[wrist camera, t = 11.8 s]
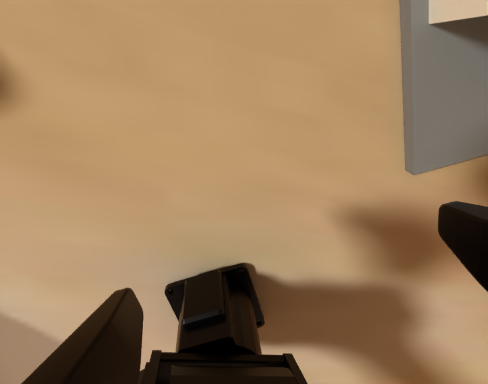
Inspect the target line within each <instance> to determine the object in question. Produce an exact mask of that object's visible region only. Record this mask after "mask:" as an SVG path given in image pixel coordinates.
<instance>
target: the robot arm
mask: <svg viewBox="0 0 488 384" xmlns="http://www.w3.org/2000/svg"><path fill="white" fill-rule="evenodd" d="M438 232H439V235H440V237H441V238H442V240H443V241H444V242H445V243H446V244H447V246H448V247H449V248H450V249H451V250H452V252H453V253H454V254H455V255H456V257H457V258H458V259H459V260H460V261H461V263H462V264H463V265H464V266H465V267H466V269H467V270H468V271H469V272H470V273H471V275H472V276H473V277H474V278H475V279H476V280H477V281H478V282H479V284H480V285H481V286H482V287H483V288H484V289H485V290H486V291H487V292H488V207H485V206H480V205H474V204H469V203H463V202H458V201H454V202H450V203H446V204H443V205H441V206H440V208H439V214H438ZM239 270H244V271H242V272H240V271H239ZM170 290H174V291H170ZM165 295H166V297H167V299H168V301H169V303H170V305H171V307H172V309H173V311H174V313H175V315H176V317H177V319H178V321H179V326H178V334H177V343H176V352H175V353H173V352H162V350H152V354H151V358H150V362H146V366H145V369H143V370H142V371H140V363H141V348H142V331H143V310H142V307H141V305H140V303H139V301H138V299H137V298H136V296H135V294H134V292H133V290H132V289H131V288H125V289H121V290H117V291H115V292H114V293H113V294H112V295H111V296H110V297H109V298H108V299H107V300H106V301H105V302H104V303H103V304H102V305H101V306H100V307H99V308H98V309H97V310H96V311H95V312H93V313H92V314H91V315H90V316H89V317H88V318H87V319H86V320H85V321H84V322H83V323H82V324H81V325H80V326H79V327H78V328H77V329H76V330H75V331H74V332H73V333H72V334H71V335H70V336H69V337H68V338H67V339H66V340H65V341H64V342H63V343H62V344H61V345H60V346H59V347H58V348H57V349H56V350H55V351H54V352H53V353H52V354H51V355H50V356H49V357H48V358H47V359H46V360H45V361H44V362H43V363H42V364H41V365H40V366H39V367H38V368H37V369H36V370H35V371H34V372H33V373H32V374H31V375H30V376H29V377H28V378H26V379H25V381H24V382H22V383H21V384H307V382H306V380H305V378H304V376H303V374H302V372H301V370H300V369H299V367H298V365H297V363H296V361H295V359H294V357H293V355H292V354H286V353H283V355H262V352H261V347H260V341H259V336H258V330H257V328H259V327H262V326H263V325H264V323H265V322H264V317H263V314H262V311H261V308H260V305H259V302H258V299H257V295H256V292H255V289H254V286H253V283H252V280H251V277H250V274H249V271H248V268H247V266H246V265H245V264H238V265H234V266H231V267H227V268H224V269H220V270H216V271H212V272H209V273H205V274H202V275H198V276H195V277H191V278H188V279H185V280H181V281H178V282H174V283H171V284H168V285H167V286H166V288H165Z"/></svg>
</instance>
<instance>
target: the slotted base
mask: <svg viewBox="0 0 488 384" xmlns="http://www.w3.org/2000/svg"><path fill="white" fill-rule="evenodd" d="M400 22H401V51H402V81H403V110H404V139H405V169H406V171H408V172H410V173H411V174H413V175H417V174H420V173H424V172H427V171H431V170H434V169H438V168H441V167H445V166H448V165H452V164H455V163H459V162H462V161H466V160H469V159H473V158H476V157H480V156H484V155H487V154H488V0H400Z"/></svg>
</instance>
